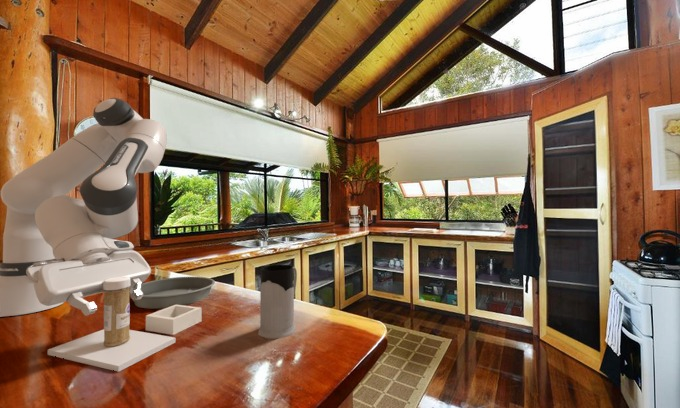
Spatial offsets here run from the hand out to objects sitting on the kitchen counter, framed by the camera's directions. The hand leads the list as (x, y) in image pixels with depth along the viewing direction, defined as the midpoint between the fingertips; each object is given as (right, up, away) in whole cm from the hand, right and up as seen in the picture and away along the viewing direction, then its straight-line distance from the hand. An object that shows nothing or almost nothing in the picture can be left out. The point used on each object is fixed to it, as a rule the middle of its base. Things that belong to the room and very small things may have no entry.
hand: (117, 304), depth 60 cm
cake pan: (-8, -10, +35) cm, 37 cm away
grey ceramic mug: (+32, -9, +11) cm, 36 cm away
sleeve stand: (+5, -9, +12) cm, 16 cm away
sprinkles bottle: (0, -8, +1) cm, 8 cm away
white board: (-1, -9, 0) cm, 9 cm away
